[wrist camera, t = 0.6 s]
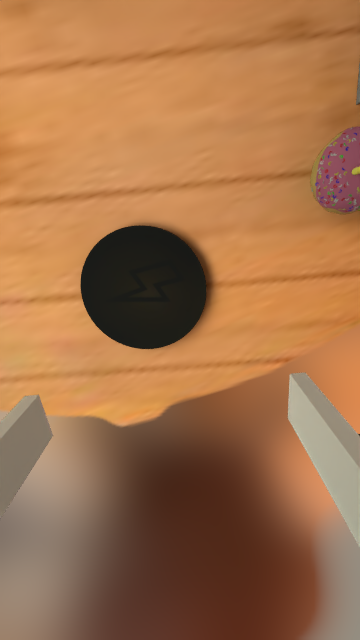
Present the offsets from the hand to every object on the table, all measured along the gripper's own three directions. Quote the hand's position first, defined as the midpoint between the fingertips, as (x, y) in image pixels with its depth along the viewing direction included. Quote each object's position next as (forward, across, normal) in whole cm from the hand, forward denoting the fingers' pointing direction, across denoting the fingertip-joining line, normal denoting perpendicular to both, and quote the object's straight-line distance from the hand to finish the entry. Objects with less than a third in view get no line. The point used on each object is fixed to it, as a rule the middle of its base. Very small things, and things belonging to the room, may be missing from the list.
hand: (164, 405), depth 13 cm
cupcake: (+26, +21, +13) cm, 36 cm away
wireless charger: (+26, -5, +1) cm, 27 cm away
